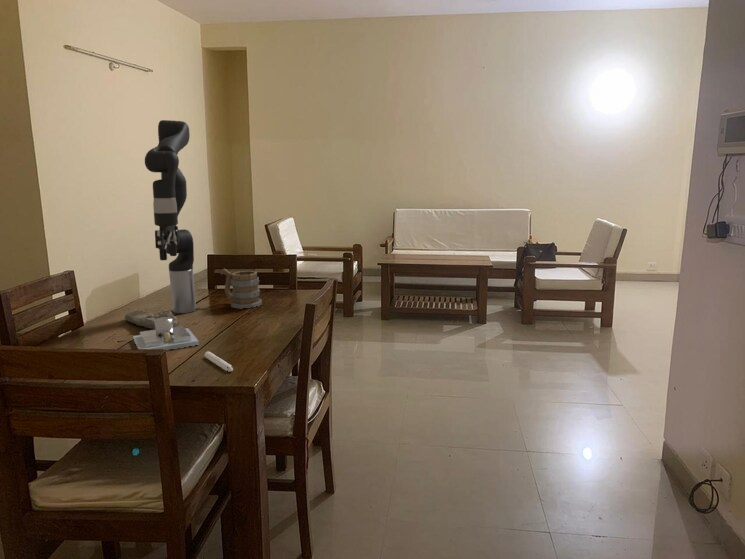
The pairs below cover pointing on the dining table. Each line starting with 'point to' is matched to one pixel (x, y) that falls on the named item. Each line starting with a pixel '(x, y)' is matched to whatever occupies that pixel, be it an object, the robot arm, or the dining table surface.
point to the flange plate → (161, 339)
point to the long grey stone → (148, 318)
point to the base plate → (169, 345)
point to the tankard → (242, 288)
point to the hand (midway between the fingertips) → (168, 258)
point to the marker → (218, 361)
